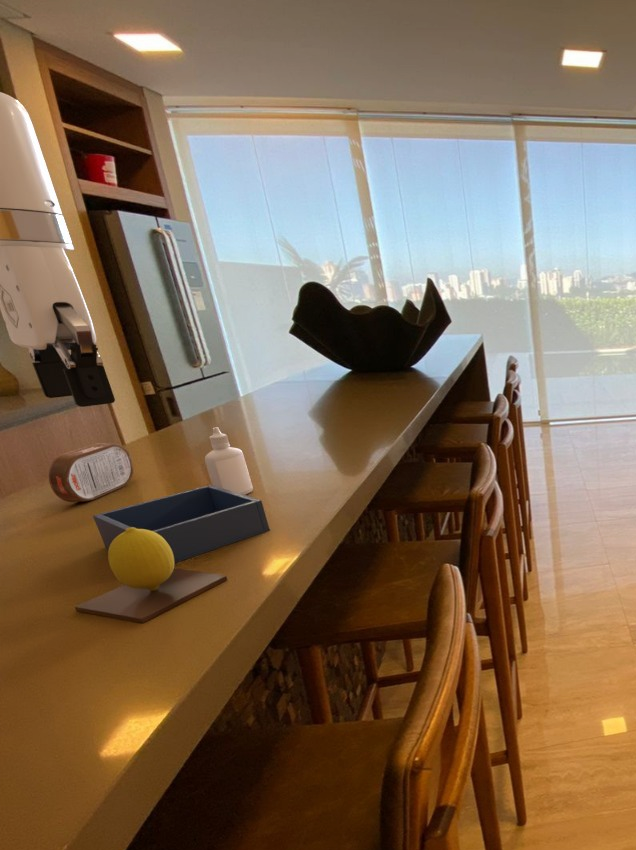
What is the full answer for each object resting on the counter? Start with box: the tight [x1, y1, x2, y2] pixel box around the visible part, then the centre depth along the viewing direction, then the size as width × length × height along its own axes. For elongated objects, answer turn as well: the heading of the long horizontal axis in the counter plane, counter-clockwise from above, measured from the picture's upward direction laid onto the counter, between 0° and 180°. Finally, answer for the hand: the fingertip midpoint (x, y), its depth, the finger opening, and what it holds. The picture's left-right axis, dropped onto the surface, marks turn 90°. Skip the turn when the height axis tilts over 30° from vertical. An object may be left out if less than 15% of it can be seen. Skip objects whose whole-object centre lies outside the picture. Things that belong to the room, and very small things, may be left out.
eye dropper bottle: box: [204, 426, 254, 496], centre depth 96 cm, size 4×6×12 cm
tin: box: [48, 442, 134, 503], centre depth 98 cm, size 15×3×8 cm, turn 6°
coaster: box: [74, 567, 228, 624], centre depth 66 cm, size 10×10×1 cm
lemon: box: [107, 527, 175, 591], centre depth 65 cm, size 6×6×8 cm
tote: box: [92, 484, 271, 564], centre depth 80 cm, size 15×15×5 cm
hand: (80, 400), depth 64 cm, fingers open, 9 cm apart
